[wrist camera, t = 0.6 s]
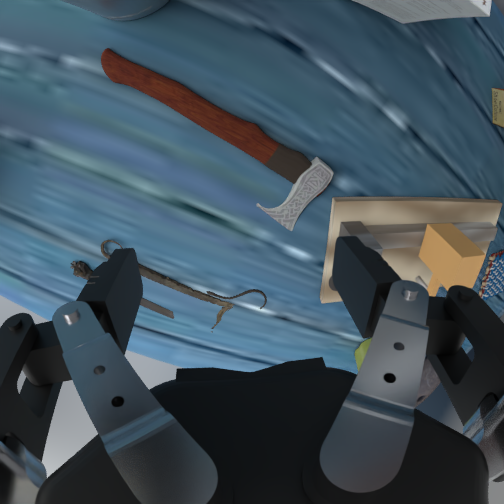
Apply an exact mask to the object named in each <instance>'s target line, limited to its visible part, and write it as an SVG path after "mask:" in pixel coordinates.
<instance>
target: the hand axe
mask: <svg viewBox="0 0 504 504" xmlns="http://www.w3.org/2000/svg"><path fill="white" fill-rule="evenodd" d="M101 63H102V67H103V70H104V72H105V73H106V75H107V76H108V77H109V78H110V79H111V80H112V81H113V82H115V83H120V84H125V85H128V86H131V87H133V88H135V89H137V90H139V91H141V92H143V93H145V94H147V95H149V96H151V97H153V98H155V99H157V100H159V101H160V102H162V103H164V104H166V105H167V106H169V107H171V108H172V109H174V110H175V111H177V112H179V113H180V114H182V115H183V116H185V117H187V118H188V119H190V120H191V121H193V122H195V123H196V124H198V125H199V126H201V127H203V128H204V129H206V130H208V131H209V132H211V133H213V134H215V135H216V136H218V137H220V138H222V139H223V140H225V141H227V142H229V143H230V144H232V145H234V146H235V147H237V148H239V149H241V150H242V151H244V152H245V153H247V154H249V155H250V156H252V157H254V158H255V159H257V160H259V161H260V162H262V163H263V164H264V165H265V166H267V167H268V168H270V169H271V170H273V171H275V172H276V173H278V174H279V175H281V176H283V177H284V178H286V179H287V180H289V181H290V182H292V183H293V187H292V190H291V192H290V194H289V196H288V197H287V199H286V200H285V201H284V203H283V204H281V205H280V206H278V207H276V208H271V209H267V208H264V207H261V205H260V204H257V206H258V207H259V208H261V209H262V210H263V211H264V212H266V213H267V214H268V215H270V216H271V217H272V218H274V219H275V220H276V221H277V222H279V223H280V224H281V225H283V226H284V227H285V228H287V229H288V230H290V231H292V230H293V227H294V224H295V222H296V220H297V218H298V217H299V215H300V214H301V212H302V211H303V209H304V208H305V207H306V206H307V204H308V203H309V202H310V201H311V200H312V199H313V198H314V197H315V196H317V197H318V196H319V195H320V194H321V193H322V192H323V191H324V190H325V189H326V187H327V186H328V185H329V183H330V180H331V179H332V176H333V171H332V169H331V168H330V167H329V166H328V165H327V164H325V163H324V162H323V161H322V160H321V159H319V158H318V157H316V158H315V159H313V160H312V161H311V162H310V161H309V160H308V159H307V158H306V157H305V156H304V155H303V154H302V153H300V152H298V151H294V150H291V149H289V148H287V147H285V146H284V145H282V144H280V143H277V142H276V141H274V140H273V139H271V138H270V137H268V136H267V135H266V134H264V133H263V132H262V130H261V129H260V128H259V127H258V126H257V125H256V124H254V123H250V122H247V121H244V120H242V119H240V118H238V117H236V116H234V115H231V114H230V113H228V112H226V111H224V110H222V109H220V108H218V107H217V106H215V105H213V104H211V103H210V102H208V101H206V100H205V99H203V98H201V97H200V96H198V95H197V94H195V93H194V92H192V91H190V90H189V89H188V88H186V87H185V86H183V85H182V84H180V83H178V82H176V81H174V80H171V79H169V78H166V77H164V76H162V75H159V74H157V73H155V72H153V71H151V70H149V69H146V68H144V67H142V66H139V65H137V64H135V63H133V62H130V61H128V60H126V59H124V58H122V57H121V56H119V55H117V54H116V53H114V52H113V51H111V50H110V49H109V48H107V49H105V50H104V52H103V53H102V56H101Z"/></svg>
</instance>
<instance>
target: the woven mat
mask: <svg viewBox="0 0 504 504" xmlns="http://www.w3.org/2000/svg"><path fill="white" fill-rule="evenodd" d="M489 260H490V262H488V264H490V266H488V267H487V268H486V270H487V271H486V273H485V274H487V276H485V277H483V280H484V279H486V280H484V282H482V285H483V286H481V288H483V289H482V290H480V291H479V294H480V295H479V296H480V297H481V298H482V299H483V300H484V299H485V300H487V298H489V297H492V295H497V293H499V292H500V293H501V292H502V291H504V251H501V252H499V253H496V254H492V255H491V256H490V258H489ZM489 289H490V290H489Z"/></svg>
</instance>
